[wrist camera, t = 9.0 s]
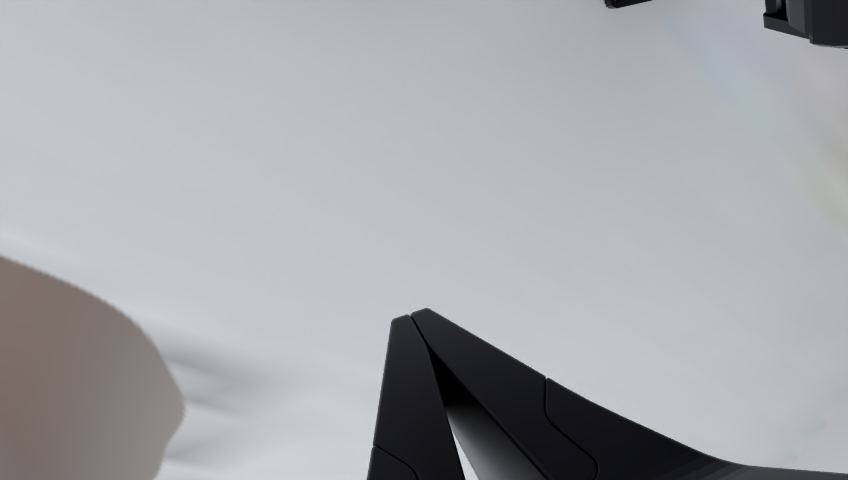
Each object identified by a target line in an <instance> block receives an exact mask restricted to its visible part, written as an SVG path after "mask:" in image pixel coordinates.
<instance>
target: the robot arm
mask: <svg viewBox="0 0 848 480" xmlns="http://www.w3.org/2000/svg"><path fill="white" fill-rule="evenodd" d="M647 1H651V0H616V1H615V0H605V5H606V6H607V7H608V8H610V9H613V8H620V7H625V6H629V5H634V4H638V3H642V2H647ZM765 7H766V12H765V13H764V14H763V18H764V27H765V28H768V29H772V30H775V31H779V32H783V33H787V34H791V35H795V36H798V37H802V38H806V39H810V43H812V44H814V45H817V46H823V47H834V48H844V49H848V0H765ZM451 429H452V430H451ZM452 431H453V433H454V434H455V436H456V438H457V440H458V442H459V444H460V446H461V448H462V449H463V451H464V453H465V455H466V457H467V459H468V461H469V462H470V464H471V466H472V468H473V470H474V472H475V474H476V476H477V477H478V479H479V480H848V474H845V473H833V472H819V471H808V470H795V469H783V468H771V467H758V466H749V465H743V464H738V463H733V462H730V461H726V460H722V459H719V458H716V457H713V456H710V455H707V454H705V453H702V452H700V451H698V450H695V449H693V448H691V447H688V446H686V445H684V444H682V443H680V442H677V441H675V440H673V439H671V438H669V437H666V436H664V435H662V434H660V433H658V432H655V431H653V430H651V429H649V428H647V427H645V426H642V425H640V424H638V423H636V422H634V421H631V420H629V419H627V418H625V417H623V416H620V415H618V414H616V413H614V412H612V411H610V410H608V409H606V408H604V407H602V406H600V405H598V404H596V403H593V402H591V401H589V400H588V399H586V398H584V397H582V396H580V395H578V394H577V393H575V392H573V391H571V390H569V389H567V388H566V387H564V386H562V385H560V384H559V383H557V382H555V381H553V380H552V379H550V378H547V379H546V377H545V376H544V375H543V374H541V373H539V372H538V371H536V370H534V369H532V368H531V367H529V366H527V365H525V364H524V363H522V362H520V361H519V360H517V359H515V358H513V357H512V356H510V355H508V354H506V353H505V352H503V351H501V350H500V349H498V348H496V347H494V346H493V345H491V344H489V343H488V342H486V341H484V340H482V339H481V338H479V337H477V336H475V335H474V334H472V333H470V332H469V331H467V330H465V329H463V328H462V327H460V326H458V325H456V324H455V323H453V322H451V321H450V320H448V319H446V318H444V317H443V316H441V315H439V314H438V313H436V312H434V311H432V310H431V309H429V308H424V309H422V310H419V311H416V312H413V313H411V316H410V315H404V316H401V317H398V318H395V319H393V320H392V322H391V327H390V334H389V340H388V347H387V353H386V360H385V367H384V373H383V380H382V386H381V393H380V400H379V406H378V413H377V419H376V426H375V433H374V439H373V448H372V451H371V458H370V464H369V470H368V475H367V480H465V476H464V473H463V469H462V466H461V462H460V459H459V455H458V451H457V448H456V444H455V441H454V437H453V434H452Z"/></svg>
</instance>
